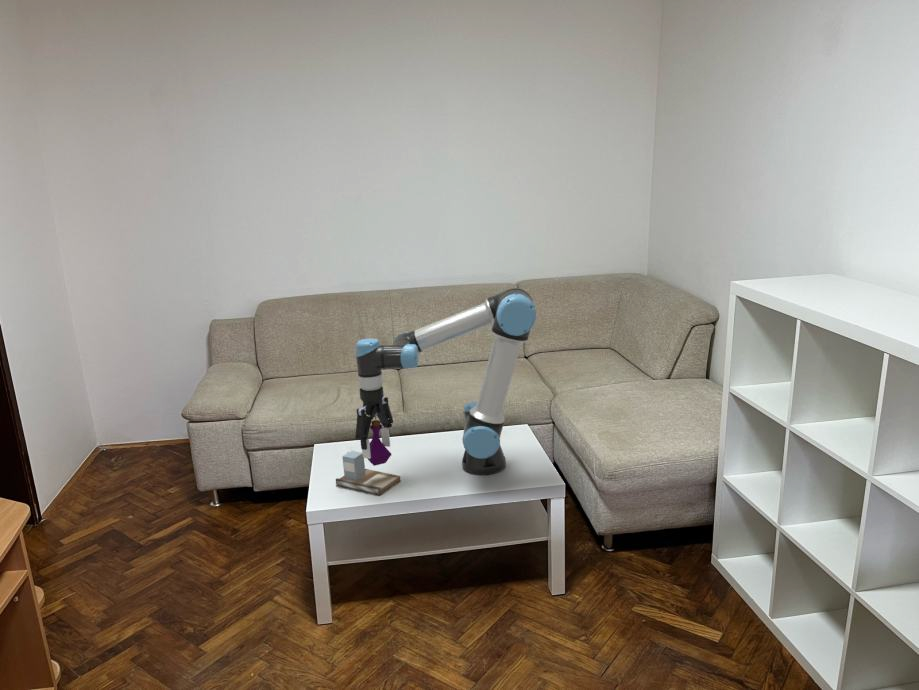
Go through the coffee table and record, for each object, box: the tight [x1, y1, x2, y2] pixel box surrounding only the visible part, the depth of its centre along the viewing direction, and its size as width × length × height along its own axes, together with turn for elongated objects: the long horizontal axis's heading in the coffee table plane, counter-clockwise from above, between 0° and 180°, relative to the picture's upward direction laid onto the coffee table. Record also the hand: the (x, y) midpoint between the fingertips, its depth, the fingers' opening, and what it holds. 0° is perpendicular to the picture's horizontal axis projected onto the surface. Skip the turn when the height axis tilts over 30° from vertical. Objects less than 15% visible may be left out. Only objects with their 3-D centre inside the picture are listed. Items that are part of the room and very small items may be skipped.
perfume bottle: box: [366, 412, 392, 467], centre depth 234 cm, size 8×8×18 cm
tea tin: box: [341, 450, 366, 481], centre depth 242 cm, size 5×5×8 cm
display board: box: [335, 468, 401, 497], centre depth 241 cm, size 18×12×3 cm, turn 60°
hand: (376, 451), depth 236 cm, fingers closed on perfume bottle, 10 cm apart
